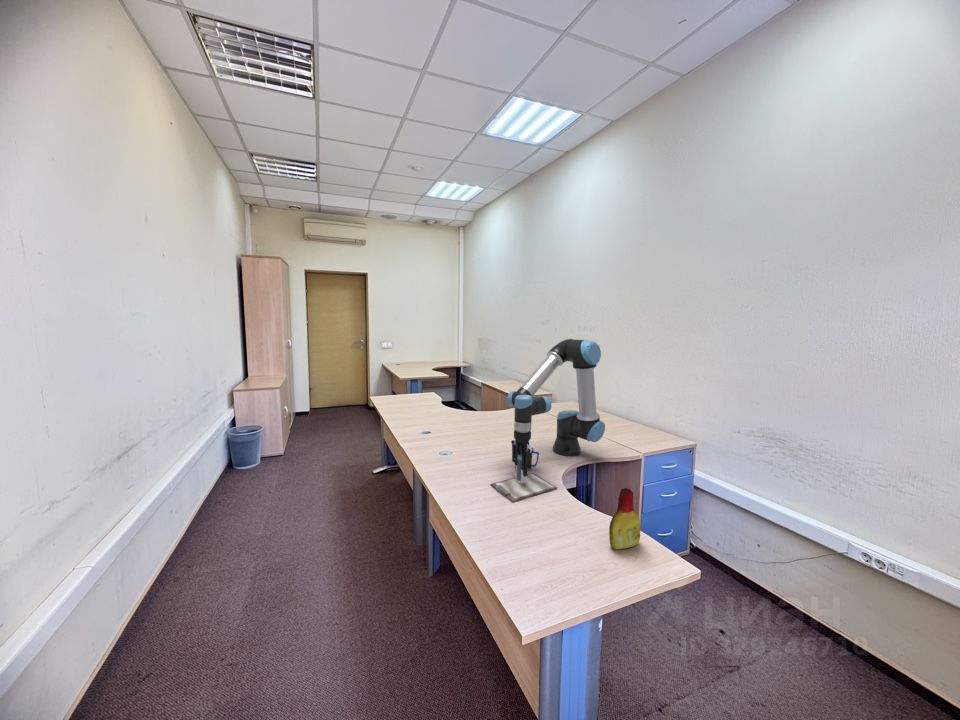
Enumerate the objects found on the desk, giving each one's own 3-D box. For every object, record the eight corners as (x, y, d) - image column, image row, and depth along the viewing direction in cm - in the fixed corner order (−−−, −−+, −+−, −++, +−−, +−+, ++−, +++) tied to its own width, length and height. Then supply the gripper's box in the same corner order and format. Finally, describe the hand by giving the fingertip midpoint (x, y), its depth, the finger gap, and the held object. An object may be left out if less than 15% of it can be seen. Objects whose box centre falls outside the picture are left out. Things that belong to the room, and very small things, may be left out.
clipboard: (532, 474, 173) (532, 470, 173) (557, 489, 159) (557, 485, 159) (490, 485, 161) (490, 482, 161) (512, 502, 147) (512, 498, 146)
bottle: (615, 555, 115) (619, 496, 113) (602, 543, 121) (605, 487, 119) (644, 547, 120) (648, 490, 117) (629, 536, 125) (633, 481, 123)
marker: (521, 479, 165) (522, 453, 164) (526, 482, 162) (527, 456, 161) (515, 481, 163) (516, 454, 162) (520, 484, 160) (520, 457, 159)
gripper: (504, 426, 165) (503, 475, 168) (527, 436, 151) (525, 490, 154) (518, 424, 169) (516, 472, 172) (541, 434, 155) (539, 486, 158)
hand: (520, 480), depth 163 cm, fingers closed on marker, 3 cm apart
